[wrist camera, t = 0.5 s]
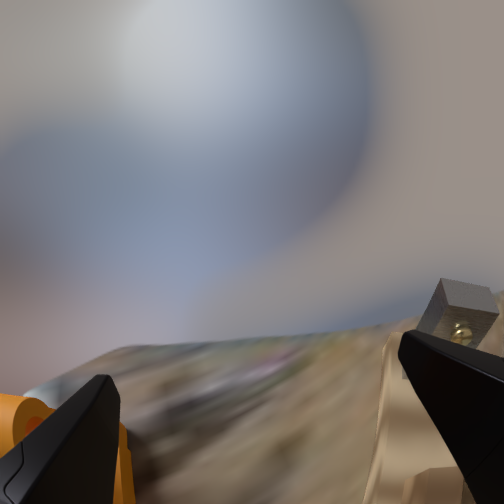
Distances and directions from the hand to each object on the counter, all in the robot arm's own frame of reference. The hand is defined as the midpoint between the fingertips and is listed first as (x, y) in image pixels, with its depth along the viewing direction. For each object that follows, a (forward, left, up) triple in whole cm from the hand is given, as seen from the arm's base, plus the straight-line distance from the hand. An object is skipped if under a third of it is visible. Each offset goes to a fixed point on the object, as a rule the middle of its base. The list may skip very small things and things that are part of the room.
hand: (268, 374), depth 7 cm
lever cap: (-1, -17, -13) cm, 21 cm away
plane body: (-5, -13, -16) cm, 21 cm away
